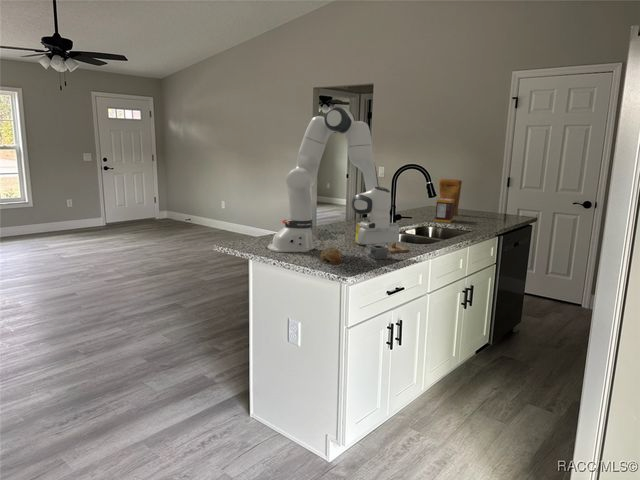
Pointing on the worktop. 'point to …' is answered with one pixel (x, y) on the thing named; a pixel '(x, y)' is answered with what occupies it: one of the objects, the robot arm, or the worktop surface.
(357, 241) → the supplement box
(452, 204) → the supplement box
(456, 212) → the pancake mix bag
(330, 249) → the bread roll
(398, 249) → the tan flat piece
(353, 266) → the worktop surface
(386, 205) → the robot arm
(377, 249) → the grey hollow block
